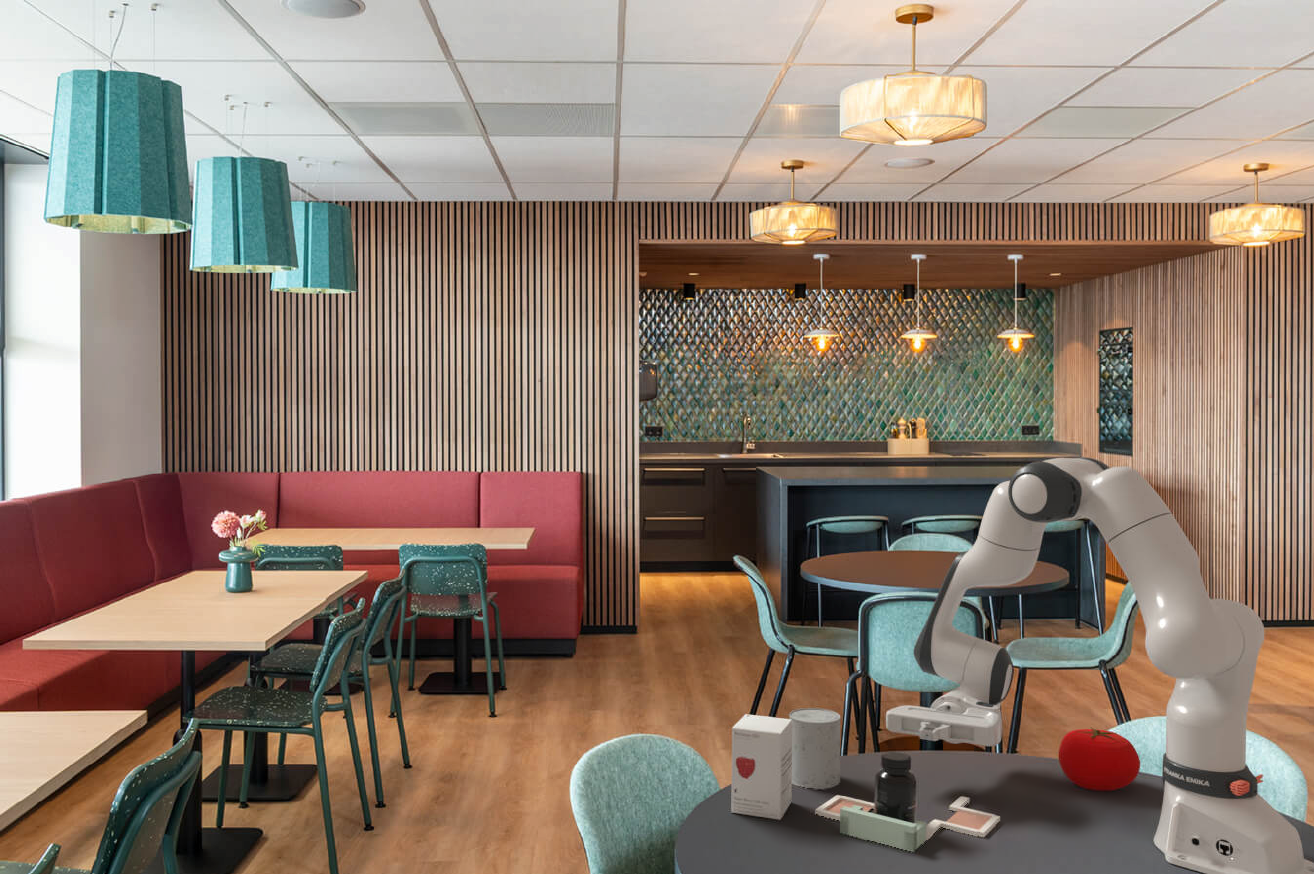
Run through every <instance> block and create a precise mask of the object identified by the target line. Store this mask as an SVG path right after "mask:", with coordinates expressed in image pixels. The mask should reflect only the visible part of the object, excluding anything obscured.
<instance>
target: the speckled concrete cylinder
mask: <svg viewBox="0 0 1314 874" xmlns="http://www.w3.org/2000/svg"><path fill="white" fill-rule="evenodd" d="M788 716H789V719H792V720H793V729H792V785H794V786H796V785H797V786H796V787H798V786H801V787H800V788H802V787H805V788H804V789H807V788H814V789H813V790H818V789H821V790H825V789H824V788H830V787H834V786H836V785H838V784H839V783H841V718H842V717H841V715H840V714H839V712H836V711H833V710H830V709H827V708H826V709H825V708H816V707H814V708H813V707H808V708H798V709H794V710H792V711H791V712H789V715H788ZM839 785H840V784H839ZM839 785H838V786H839ZM836 787H837V786H836ZM834 788H835V787H834ZM830 789H831V788H830Z"/></svg>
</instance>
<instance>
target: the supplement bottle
mask: <svg viewBox="0 0 1314 874" xmlns="http://www.w3.org/2000/svg"><path fill="white" fill-rule="evenodd" d="M880 760H881V761H880V767H881V768H880V769H879V770H877V772H876V773H875V775H874V776H875V777H874V802H873V803H874V810H873V811H874V812H873V813H874V814H878V815H882V816H886V817H890V818H894V819H898V820H902V821H906V822H910V823H915V822H916V821H917V803H918V802H917V800H918V799H917V794H918V793H917V790H918V788H917V787H918V782H917V781H918V780H917V777H916V775H915V774H914V773H913V772H912V771H911V769H912V757H911V756H910V755H908V754H907V753H905V752H904V753H903V752H899V751H898V752H897V751H887V752H883V753H882V754H881V759H880Z"/></svg>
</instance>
